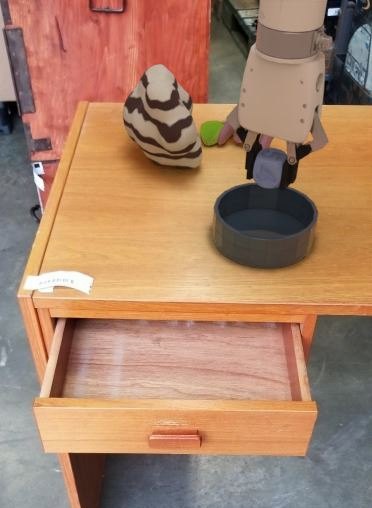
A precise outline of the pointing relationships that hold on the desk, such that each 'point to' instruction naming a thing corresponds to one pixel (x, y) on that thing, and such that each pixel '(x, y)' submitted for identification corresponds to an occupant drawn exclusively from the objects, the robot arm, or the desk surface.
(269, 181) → the decorative dice
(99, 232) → the desk surface
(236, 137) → the video game controller
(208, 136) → the decorative leaf
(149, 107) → the sculpture
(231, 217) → the basin
